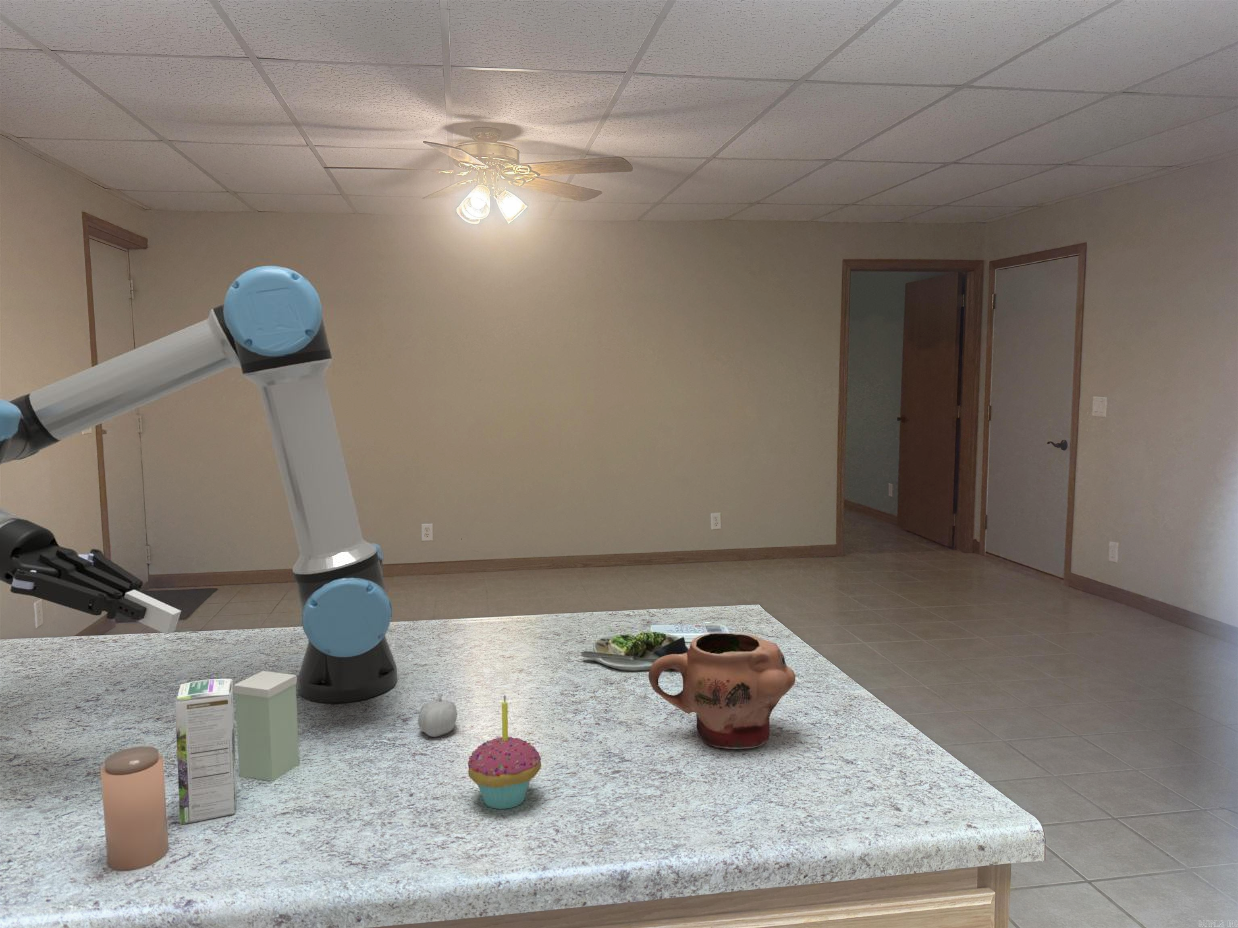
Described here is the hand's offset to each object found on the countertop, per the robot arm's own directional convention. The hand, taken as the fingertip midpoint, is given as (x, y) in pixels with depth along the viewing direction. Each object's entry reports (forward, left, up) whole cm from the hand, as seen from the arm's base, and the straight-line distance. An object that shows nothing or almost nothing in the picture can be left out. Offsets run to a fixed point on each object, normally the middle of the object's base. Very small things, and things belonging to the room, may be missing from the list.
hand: (173, 622), depth 101 cm
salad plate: (-73, -14, -21) cm, 77 cm away
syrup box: (-3, +8, -21) cm, 22 cm away
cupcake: (-34, +22, -21) cm, 45 cm away
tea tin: (-10, +1, -20) cm, 23 cm away
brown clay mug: (-66, +20, -21) cm, 72 cm away
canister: (+4, +15, -20) cm, 26 cm away
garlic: (-32, 0, -21) cm, 38 cm away
